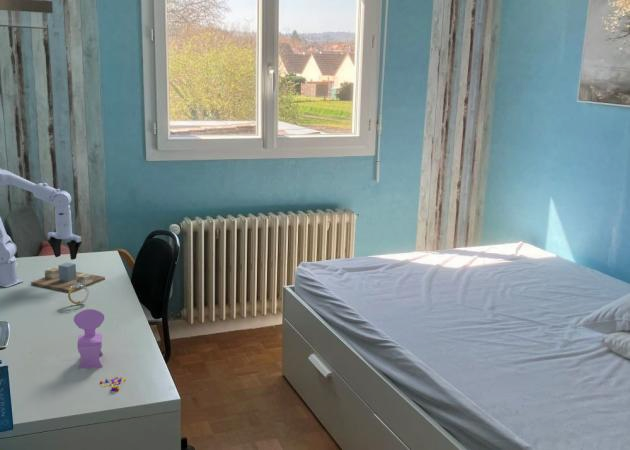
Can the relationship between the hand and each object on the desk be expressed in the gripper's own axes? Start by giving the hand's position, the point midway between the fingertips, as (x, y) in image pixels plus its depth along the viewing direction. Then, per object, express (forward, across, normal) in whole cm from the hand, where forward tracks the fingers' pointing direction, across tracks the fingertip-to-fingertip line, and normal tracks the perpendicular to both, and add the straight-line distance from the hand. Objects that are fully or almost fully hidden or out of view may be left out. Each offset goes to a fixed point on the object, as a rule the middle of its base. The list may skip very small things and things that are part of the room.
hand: (65, 257), depth 255 cm
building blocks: (+10, +70, -61) cm, 93 cm away
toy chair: (+10, +56, -52) cm, 77 cm away
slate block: (+9, 0, 0) cm, 9 cm away
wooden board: (+10, 0, 0) cm, 10 cm away
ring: (+10, +21, -17) cm, 29 cm away
